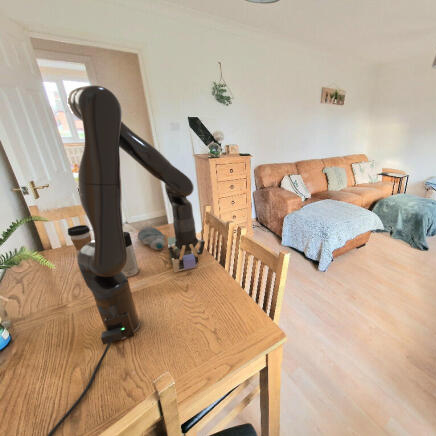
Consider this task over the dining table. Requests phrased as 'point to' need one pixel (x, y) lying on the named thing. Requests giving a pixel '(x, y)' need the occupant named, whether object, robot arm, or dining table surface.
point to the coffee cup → (79, 236)
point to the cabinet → (171, 242)
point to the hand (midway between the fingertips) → (189, 264)
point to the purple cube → (189, 261)
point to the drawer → (177, 264)
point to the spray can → (130, 257)
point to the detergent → (152, 237)
